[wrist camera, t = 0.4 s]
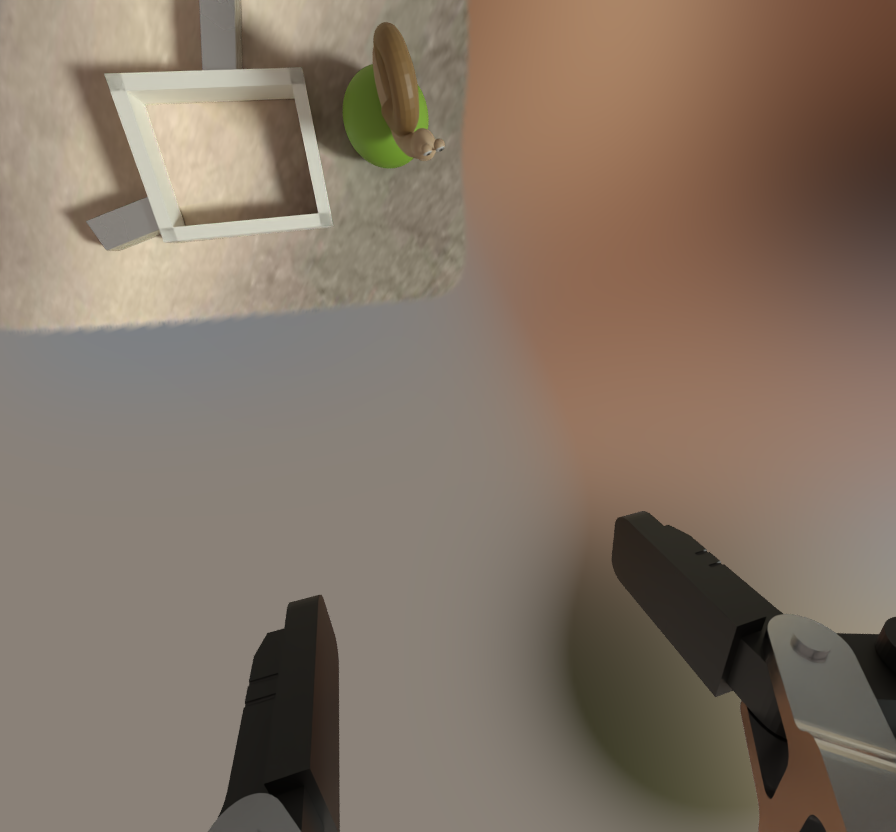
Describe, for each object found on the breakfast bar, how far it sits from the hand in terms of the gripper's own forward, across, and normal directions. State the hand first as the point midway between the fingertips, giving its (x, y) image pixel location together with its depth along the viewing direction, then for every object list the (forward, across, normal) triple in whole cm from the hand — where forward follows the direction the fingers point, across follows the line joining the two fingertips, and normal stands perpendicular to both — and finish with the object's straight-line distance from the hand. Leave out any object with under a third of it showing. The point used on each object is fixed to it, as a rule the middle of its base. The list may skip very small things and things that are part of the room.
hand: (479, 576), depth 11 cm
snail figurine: (+27, -3, -14) cm, 31 cm away
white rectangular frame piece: (+27, +9, -16) cm, 32 cm away
